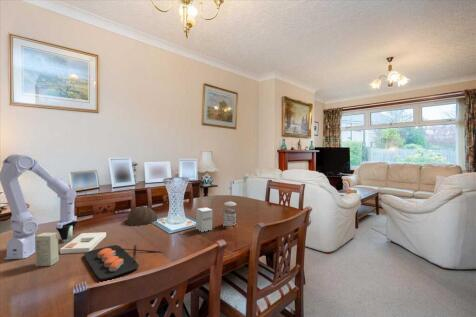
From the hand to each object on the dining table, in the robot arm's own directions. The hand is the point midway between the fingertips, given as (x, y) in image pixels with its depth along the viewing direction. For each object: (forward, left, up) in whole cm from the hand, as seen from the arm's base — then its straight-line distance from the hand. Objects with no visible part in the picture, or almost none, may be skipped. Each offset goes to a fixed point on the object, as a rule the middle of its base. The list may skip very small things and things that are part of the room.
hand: (67, 237), depth 116 cm
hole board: (-6, -11, -1) cm, 13 cm away
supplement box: (+8, -70, -2) cm, 70 cm away
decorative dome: (+29, -30, -2) cm, 42 cm away
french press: (+15, -86, -2) cm, 87 cm away
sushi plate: (-23, -36, -2) cm, 43 cm away
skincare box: (-25, -5, -2) cm, 26 cm away
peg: (0, 0, -1) cm, 1 cm away
